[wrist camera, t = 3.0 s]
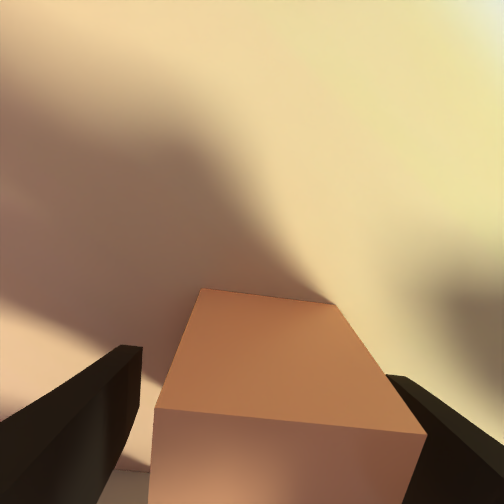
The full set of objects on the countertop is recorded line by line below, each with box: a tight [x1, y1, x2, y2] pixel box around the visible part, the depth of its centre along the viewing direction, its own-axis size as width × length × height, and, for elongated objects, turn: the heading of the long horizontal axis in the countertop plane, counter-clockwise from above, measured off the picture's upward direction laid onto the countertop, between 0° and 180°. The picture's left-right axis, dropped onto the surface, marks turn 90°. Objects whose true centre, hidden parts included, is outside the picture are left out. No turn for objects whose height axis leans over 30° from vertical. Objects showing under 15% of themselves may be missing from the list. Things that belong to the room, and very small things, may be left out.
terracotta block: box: [148, 288, 427, 504], centre depth 8 cm, size 4×4×5 cm
